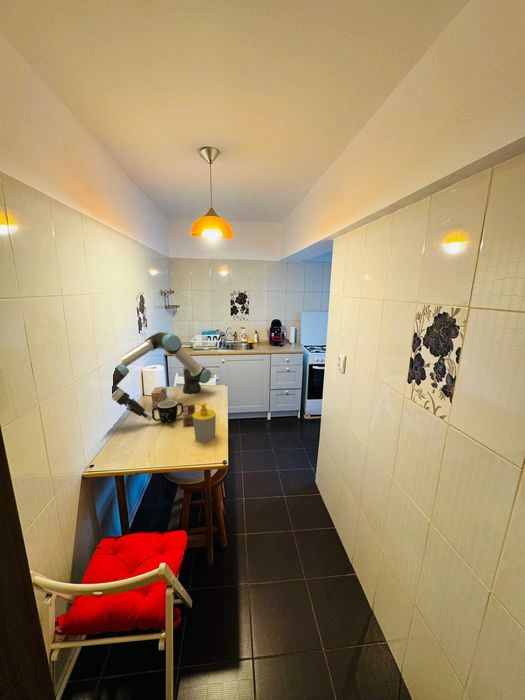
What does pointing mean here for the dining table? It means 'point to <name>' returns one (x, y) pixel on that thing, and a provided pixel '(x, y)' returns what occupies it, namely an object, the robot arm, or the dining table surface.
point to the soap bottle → (204, 424)
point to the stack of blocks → (158, 396)
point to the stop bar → (188, 415)
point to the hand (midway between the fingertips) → (151, 418)
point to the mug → (167, 411)
